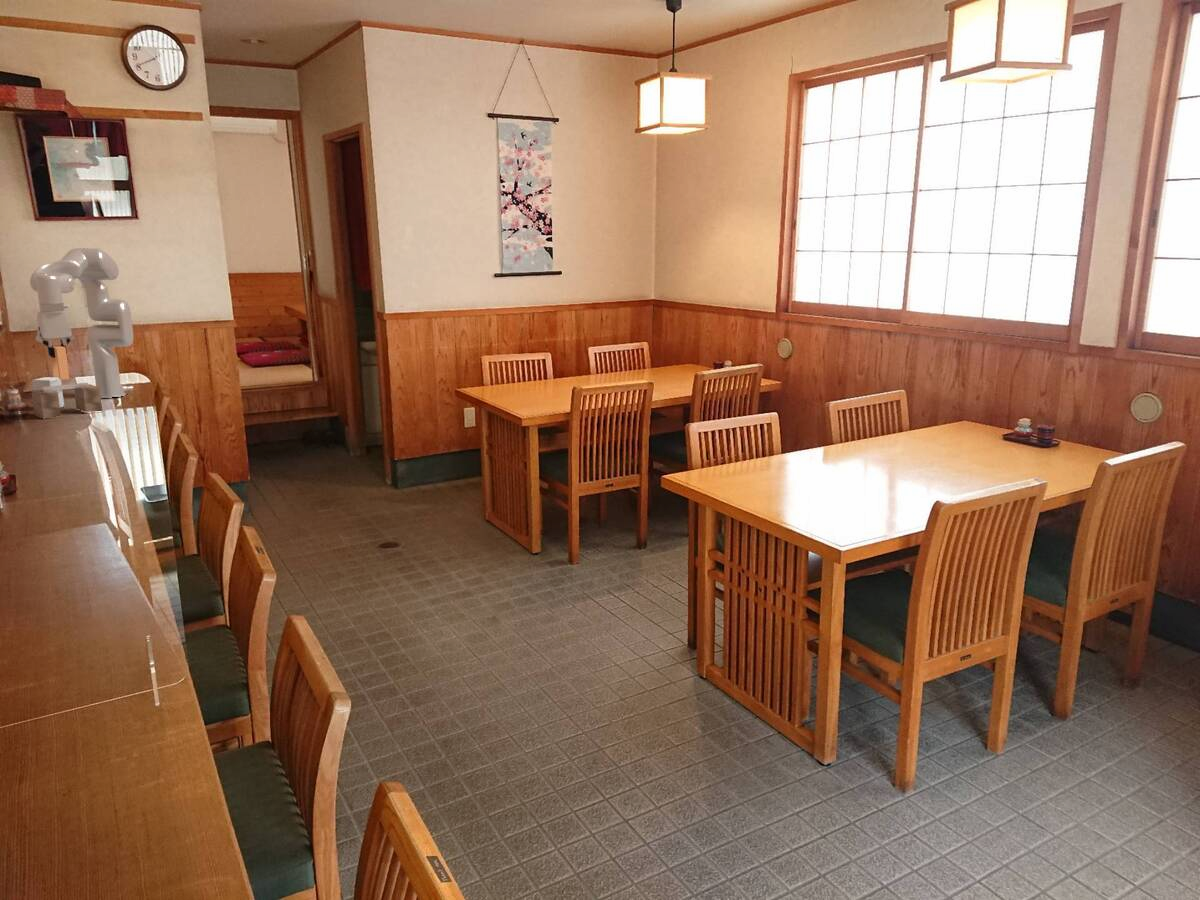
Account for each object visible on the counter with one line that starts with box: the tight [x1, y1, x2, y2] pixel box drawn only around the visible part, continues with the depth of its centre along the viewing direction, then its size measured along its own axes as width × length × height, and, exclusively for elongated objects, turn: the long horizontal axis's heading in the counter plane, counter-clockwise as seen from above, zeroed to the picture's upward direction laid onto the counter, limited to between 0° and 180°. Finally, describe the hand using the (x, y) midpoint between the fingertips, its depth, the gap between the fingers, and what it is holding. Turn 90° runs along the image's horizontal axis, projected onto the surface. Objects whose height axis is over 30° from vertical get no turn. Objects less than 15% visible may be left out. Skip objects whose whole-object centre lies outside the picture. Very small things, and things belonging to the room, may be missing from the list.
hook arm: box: [42, 382, 90, 392], centre depth 332 cm, size 16×2×2 cm, turn 140°
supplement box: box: [32, 376, 65, 407], centre depth 340 cm, size 7×7×13 cm
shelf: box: [30, 383, 103, 420], centre depth 333 cm, size 21×10×10 cm, turn 140°
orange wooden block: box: [49, 344, 70, 381], centre depth 318 cm, size 3×8×12 cm, turn 50°
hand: (58, 356), depth 317 cm, fingers closed on orange wooden block, 3 cm apart
